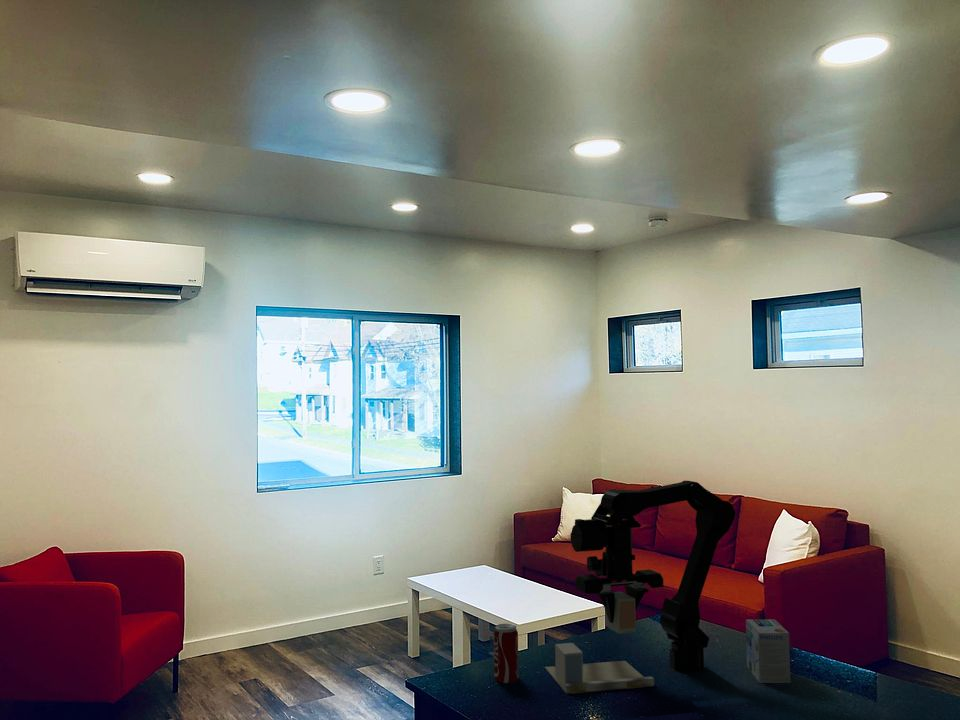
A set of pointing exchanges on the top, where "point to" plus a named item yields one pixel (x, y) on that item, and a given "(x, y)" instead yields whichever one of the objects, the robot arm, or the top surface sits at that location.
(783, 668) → the light bulb box
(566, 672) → the cream carton
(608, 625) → the sage carton
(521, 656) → the top surface
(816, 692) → the top surface
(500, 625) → the soda can
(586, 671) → the beige shallow tray
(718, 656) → the top surface
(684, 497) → the robot arm
